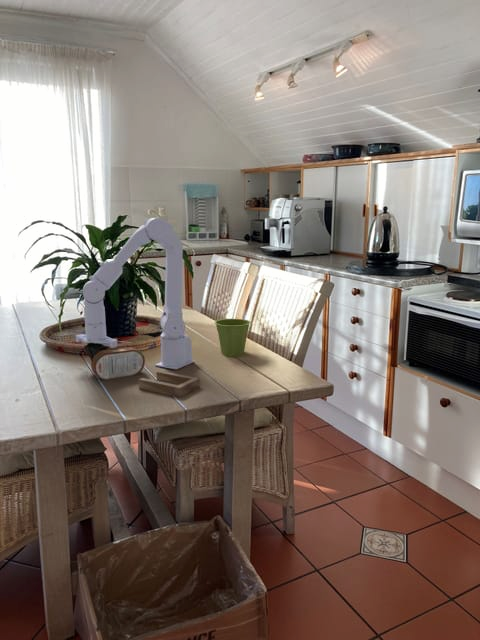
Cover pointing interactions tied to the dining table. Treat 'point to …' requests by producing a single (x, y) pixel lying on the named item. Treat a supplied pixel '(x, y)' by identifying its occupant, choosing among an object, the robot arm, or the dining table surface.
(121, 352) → the tin
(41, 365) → the dining table surface
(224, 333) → the plant pot
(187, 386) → the dock
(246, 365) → the dining table surface
